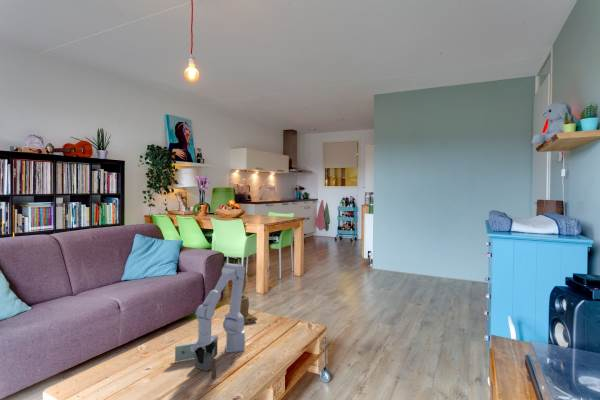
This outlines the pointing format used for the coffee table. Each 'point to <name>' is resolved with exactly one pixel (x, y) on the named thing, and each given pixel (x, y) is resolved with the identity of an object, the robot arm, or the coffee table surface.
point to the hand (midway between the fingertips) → (204, 360)
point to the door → (188, 352)
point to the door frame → (213, 366)
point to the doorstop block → (204, 361)
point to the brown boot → (246, 310)
